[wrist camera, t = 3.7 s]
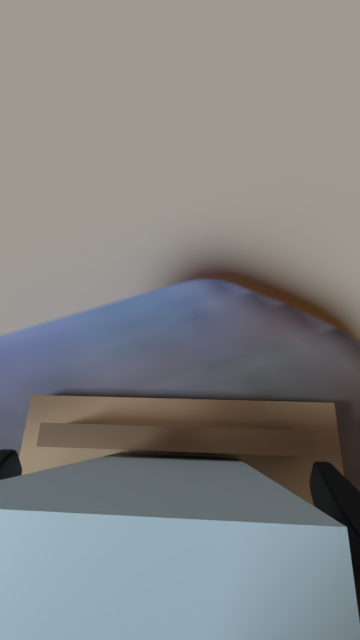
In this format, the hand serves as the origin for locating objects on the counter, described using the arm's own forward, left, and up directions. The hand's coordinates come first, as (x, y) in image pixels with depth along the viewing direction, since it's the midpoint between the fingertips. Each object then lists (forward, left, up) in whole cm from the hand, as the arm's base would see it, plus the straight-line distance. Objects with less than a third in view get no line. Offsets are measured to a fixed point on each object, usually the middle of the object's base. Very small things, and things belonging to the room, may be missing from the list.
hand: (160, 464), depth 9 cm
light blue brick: (-1, +1, -6) cm, 7 cm away
